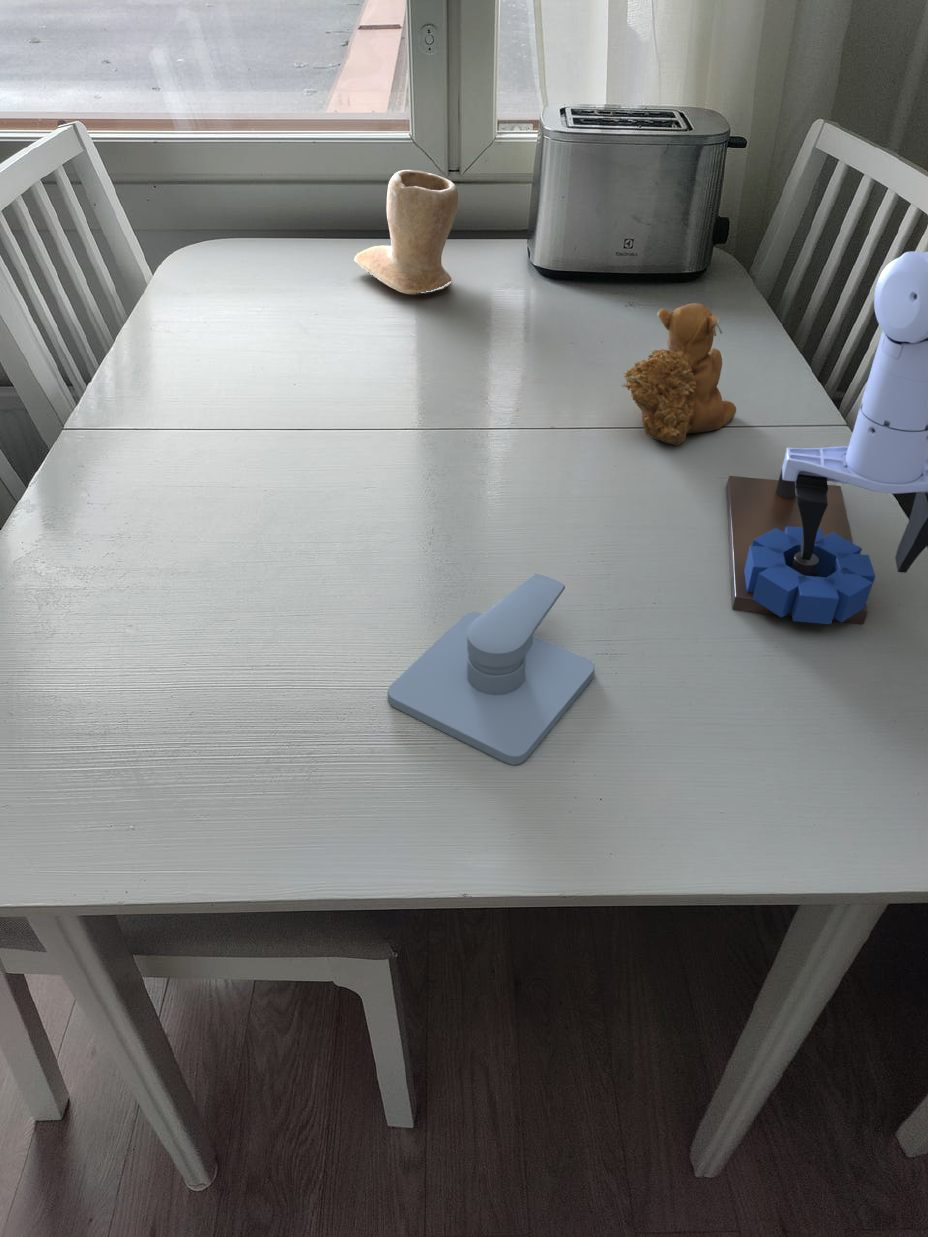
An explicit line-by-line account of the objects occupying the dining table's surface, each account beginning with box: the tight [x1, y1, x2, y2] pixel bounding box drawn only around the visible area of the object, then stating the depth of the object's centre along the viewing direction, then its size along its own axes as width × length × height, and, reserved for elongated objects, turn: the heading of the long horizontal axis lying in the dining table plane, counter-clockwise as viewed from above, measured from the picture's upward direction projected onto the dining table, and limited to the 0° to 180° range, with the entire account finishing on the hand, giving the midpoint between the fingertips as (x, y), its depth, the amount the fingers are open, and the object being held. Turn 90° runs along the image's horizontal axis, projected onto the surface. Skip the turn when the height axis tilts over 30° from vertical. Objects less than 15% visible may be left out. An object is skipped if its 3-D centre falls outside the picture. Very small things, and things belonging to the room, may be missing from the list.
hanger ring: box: [744, 526, 876, 625], centre depth 82 cm, size 10×10×3 cm
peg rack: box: [725, 464, 869, 625], centre depth 89 cm, size 11×20×4 cm, turn 170°
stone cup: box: [353, 169, 459, 295], centre depth 137 cm, size 15×12×15 cm
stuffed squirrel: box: [621, 302, 737, 446], centre depth 104 cm, size 10×14×13 cm
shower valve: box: [387, 573, 596, 766], centre depth 75 cm, size 12×6×15 cm
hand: (852, 559), depth 80 cm, fingers open, 7 cm apart
